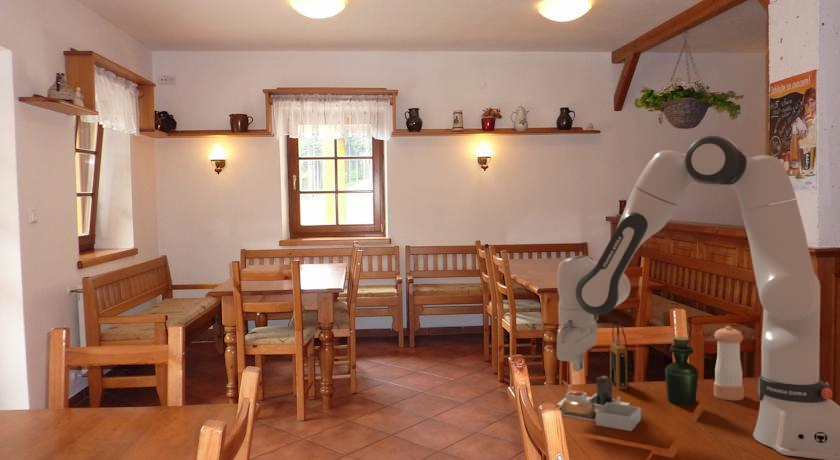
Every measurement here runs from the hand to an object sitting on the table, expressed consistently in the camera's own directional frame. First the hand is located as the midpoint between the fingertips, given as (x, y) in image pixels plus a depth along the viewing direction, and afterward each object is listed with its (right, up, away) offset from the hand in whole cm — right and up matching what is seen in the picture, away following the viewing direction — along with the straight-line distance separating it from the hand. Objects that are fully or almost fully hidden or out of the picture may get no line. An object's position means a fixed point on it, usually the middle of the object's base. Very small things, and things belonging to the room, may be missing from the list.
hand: (578, 370), depth 166 cm
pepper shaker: (+42, -9, +6) cm, 44 cm away
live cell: (-2, -10, -9) cm, 13 cm away
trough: (-2, -10, -9) cm, 14 cm away
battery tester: (+3, -10, -2) cm, 11 cm away
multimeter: (+18, -9, +14) cm, 25 cm away
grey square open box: (+6, -11, -15) cm, 19 cm away
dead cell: (+6, -8, -3) cm, 11 cm away
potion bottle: (+27, -9, -1) cm, 28 cm away
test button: (0, -8, +1) cm, 8 cm away
